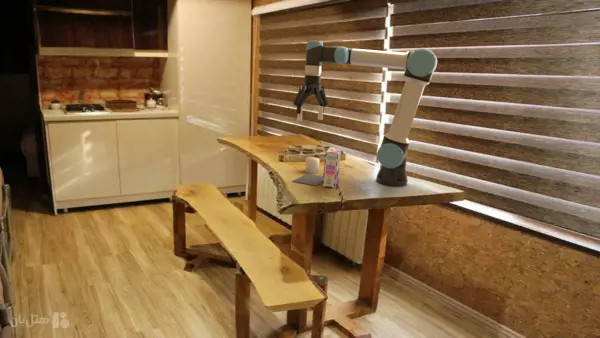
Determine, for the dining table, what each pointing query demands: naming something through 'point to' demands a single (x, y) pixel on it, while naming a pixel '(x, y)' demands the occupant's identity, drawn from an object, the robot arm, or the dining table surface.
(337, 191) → the dining table surface
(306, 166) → the cream capsule shape
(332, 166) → the candy box
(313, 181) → the mat
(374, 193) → the dining table surface
